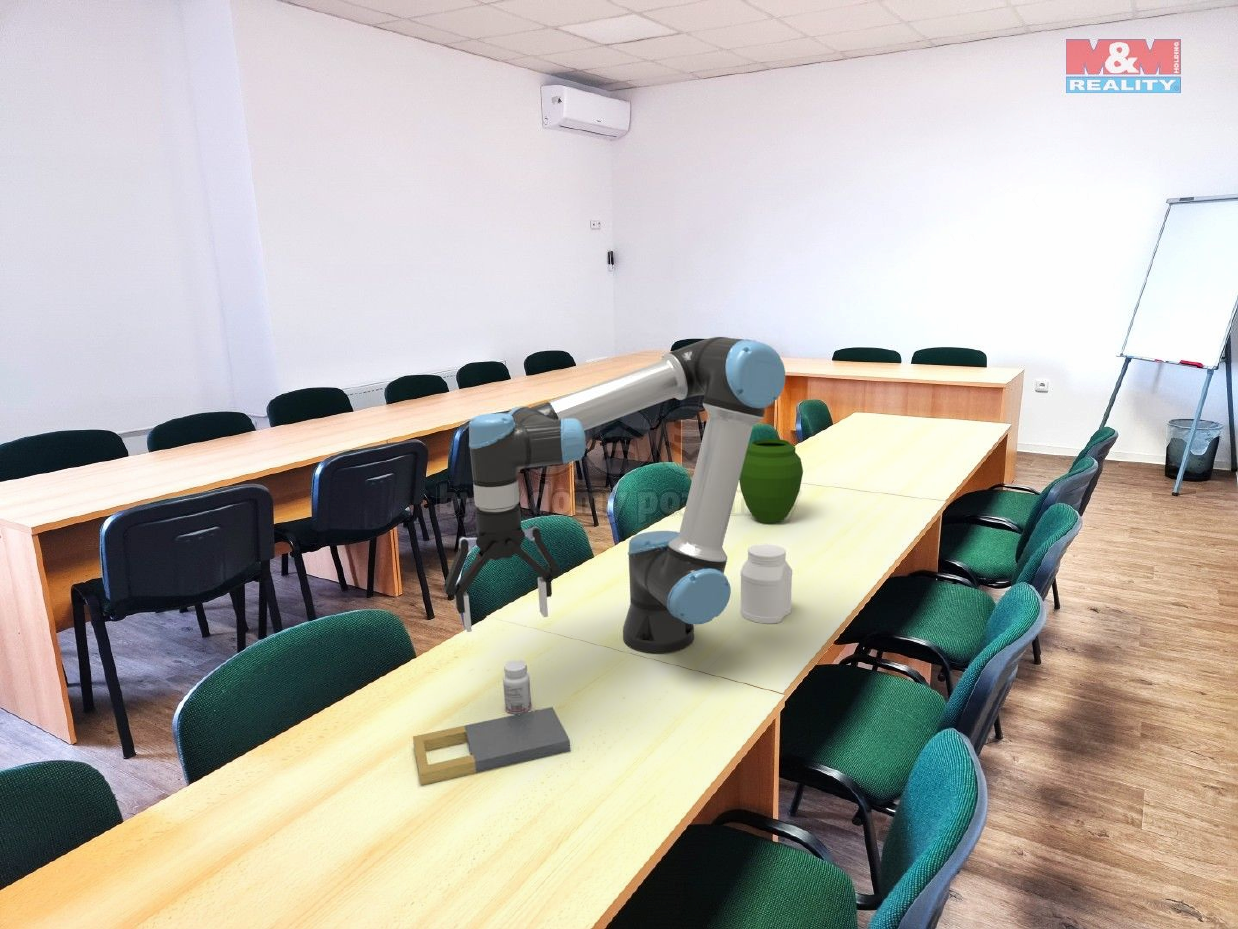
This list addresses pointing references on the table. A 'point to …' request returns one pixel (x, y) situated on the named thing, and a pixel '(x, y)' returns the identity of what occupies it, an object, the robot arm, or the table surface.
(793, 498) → the vase
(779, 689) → the table surface
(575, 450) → the robot arm
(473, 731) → the flat tray
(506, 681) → the pill bottle
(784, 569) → the jar
